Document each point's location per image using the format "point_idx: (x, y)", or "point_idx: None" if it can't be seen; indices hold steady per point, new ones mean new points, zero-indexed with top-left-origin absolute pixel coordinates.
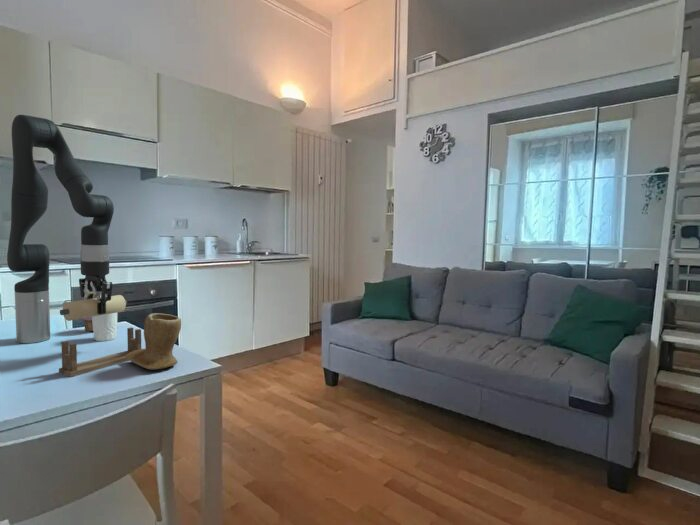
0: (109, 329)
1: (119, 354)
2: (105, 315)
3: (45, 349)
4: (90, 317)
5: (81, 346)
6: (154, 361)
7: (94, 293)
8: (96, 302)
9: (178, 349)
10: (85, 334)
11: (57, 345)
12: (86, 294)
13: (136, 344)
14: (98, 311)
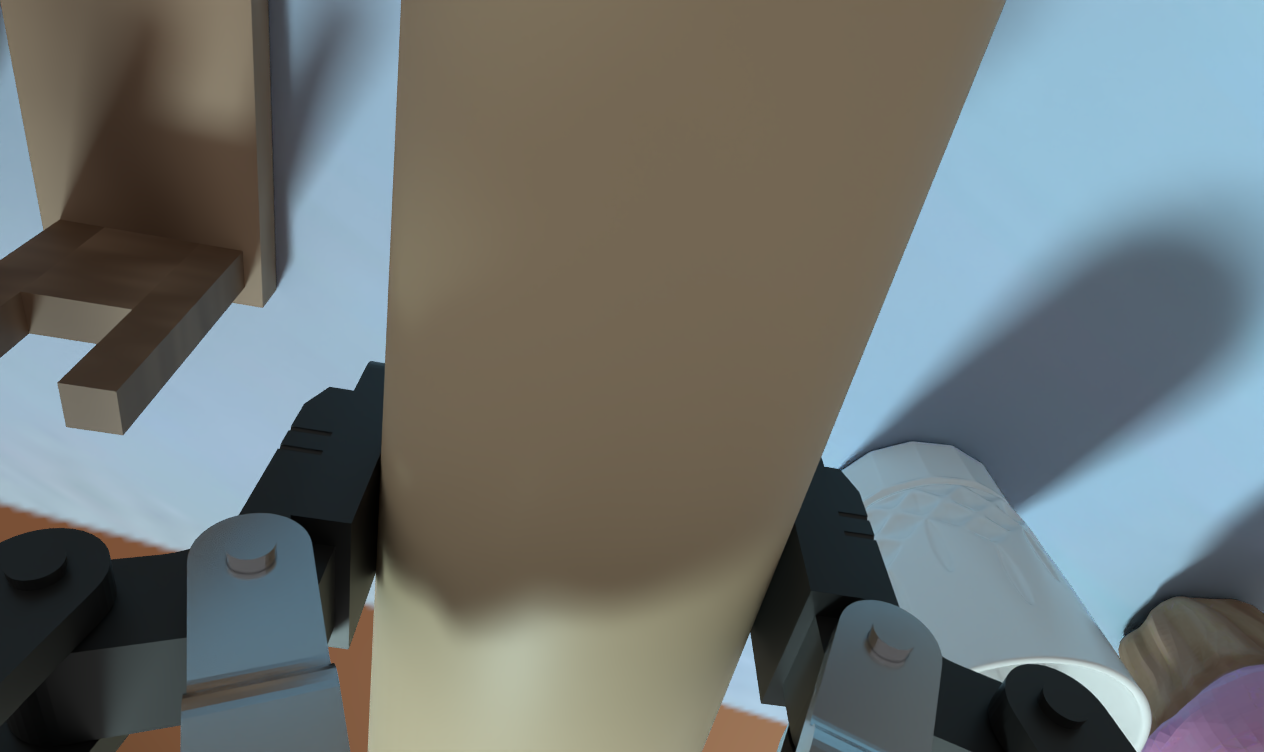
0: None
1: (188, 127)
2: None
3: (1241, 61)
4: (1241, 698)
5: (932, 275)
6: None
7: (287, 724)
8: (409, 540)
9: (40, 495)
10: (1180, 540)
11: (1207, 216)
12: (848, 729)
13: (22, 265)
14: (361, 387)
